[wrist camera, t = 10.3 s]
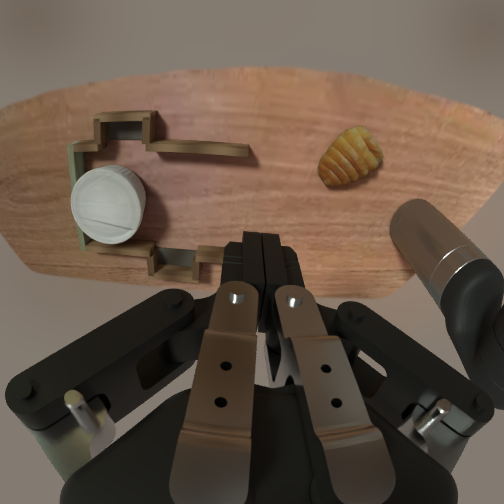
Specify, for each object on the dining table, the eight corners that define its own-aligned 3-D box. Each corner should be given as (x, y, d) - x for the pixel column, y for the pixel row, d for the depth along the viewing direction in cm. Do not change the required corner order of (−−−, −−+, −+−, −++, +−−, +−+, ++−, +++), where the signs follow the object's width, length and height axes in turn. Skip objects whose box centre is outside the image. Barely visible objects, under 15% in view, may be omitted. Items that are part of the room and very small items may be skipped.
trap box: (251, 115, 37) (252, 118, 34) (234, 274, 50) (234, 286, 47) (76, 114, 35) (66, 117, 32) (92, 261, 48) (85, 271, 45)
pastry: (333, 193, 43) (340, 204, 39) (305, 159, 40) (310, 166, 37) (382, 155, 39) (393, 162, 36) (356, 118, 37) (366, 122, 34)
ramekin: (104, 236, 45) (92, 253, 41) (74, 175, 40) (57, 187, 35) (164, 215, 44) (155, 232, 39) (134, 147, 38) (120, 156, 34)
